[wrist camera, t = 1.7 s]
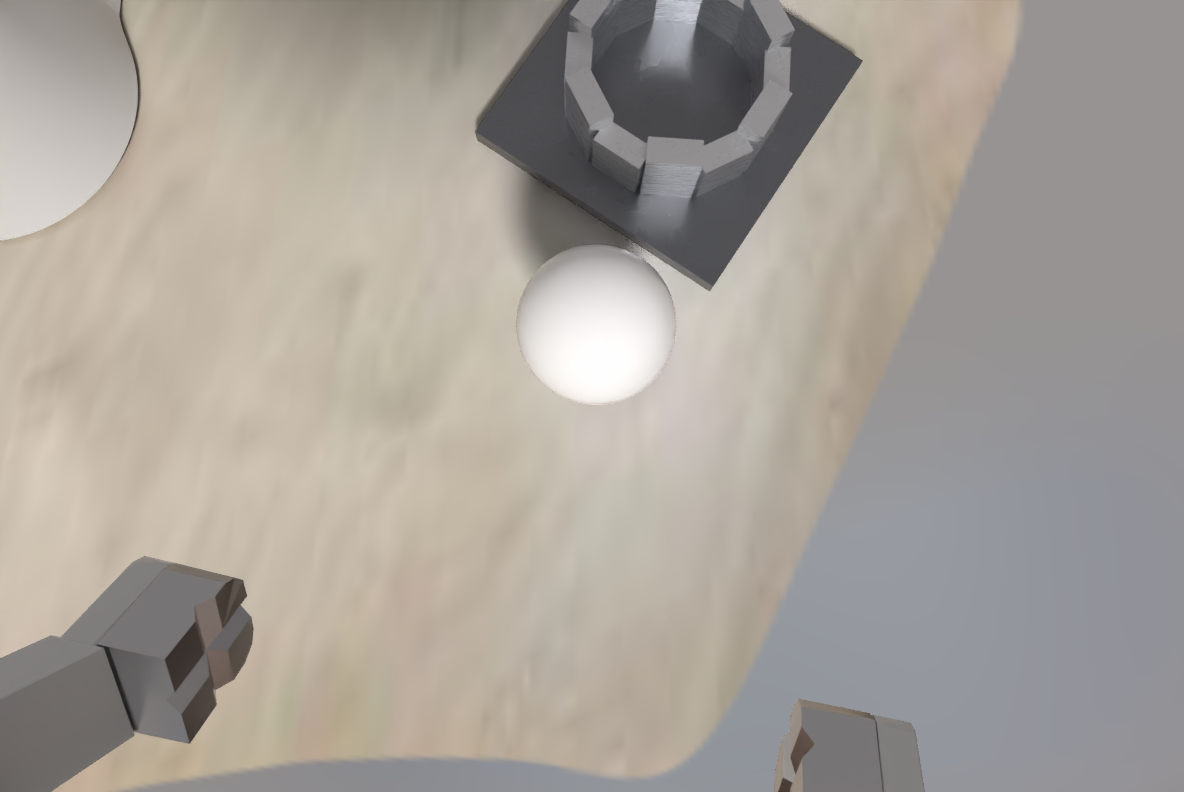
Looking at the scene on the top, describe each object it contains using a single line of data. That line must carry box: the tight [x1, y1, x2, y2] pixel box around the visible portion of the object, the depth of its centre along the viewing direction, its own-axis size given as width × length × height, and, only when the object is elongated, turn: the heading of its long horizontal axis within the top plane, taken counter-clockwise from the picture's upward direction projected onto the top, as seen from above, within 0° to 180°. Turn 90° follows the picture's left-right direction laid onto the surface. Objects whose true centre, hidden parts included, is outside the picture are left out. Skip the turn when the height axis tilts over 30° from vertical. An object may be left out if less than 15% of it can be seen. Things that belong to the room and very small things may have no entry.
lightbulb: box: [516, 244, 676, 405], centre depth 35 cm, size 6×6×11 cm
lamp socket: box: [475, 0, 863, 291], centre depth 40 cm, size 14×14×5 cm
